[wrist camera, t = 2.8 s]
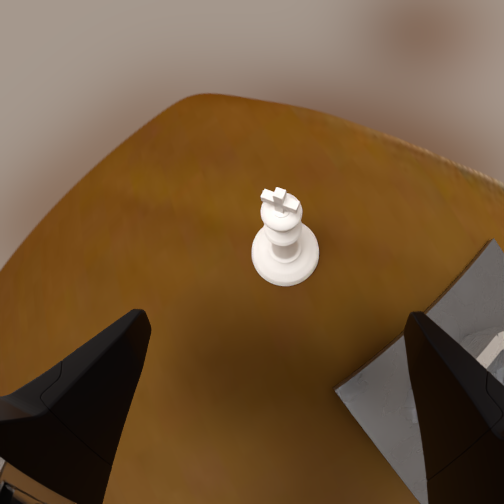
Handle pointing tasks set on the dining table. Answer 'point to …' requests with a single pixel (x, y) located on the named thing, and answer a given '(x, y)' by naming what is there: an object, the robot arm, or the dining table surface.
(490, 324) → the duct collar
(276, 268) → the chess piece
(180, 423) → the dining table surface
